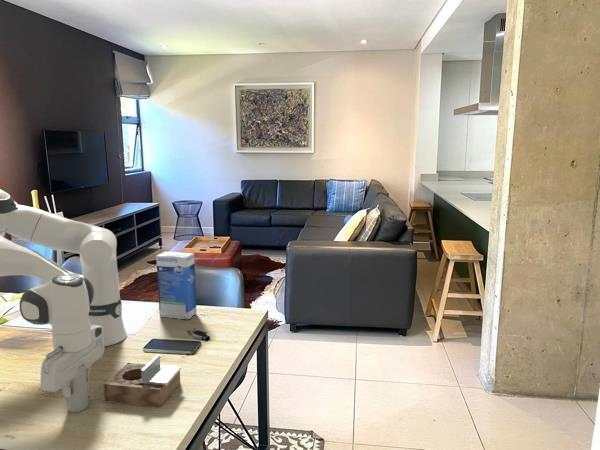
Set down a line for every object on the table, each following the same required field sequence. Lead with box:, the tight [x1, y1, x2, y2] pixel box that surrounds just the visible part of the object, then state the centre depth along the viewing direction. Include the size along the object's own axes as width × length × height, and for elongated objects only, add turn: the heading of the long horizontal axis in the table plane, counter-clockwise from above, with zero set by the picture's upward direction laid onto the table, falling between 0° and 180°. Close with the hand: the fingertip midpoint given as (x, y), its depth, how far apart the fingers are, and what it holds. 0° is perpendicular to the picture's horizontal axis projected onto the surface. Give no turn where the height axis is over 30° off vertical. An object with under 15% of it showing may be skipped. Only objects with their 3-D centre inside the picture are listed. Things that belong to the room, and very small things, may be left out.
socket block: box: [103, 362, 181, 408], centre depth 122 cm, size 16×12×5 cm
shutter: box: [141, 354, 182, 386], centre depth 120 cm, size 7×9×4 cm
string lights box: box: [155, 251, 197, 320], centre depth 176 cm, size 13×8×26 cm, turn 77°
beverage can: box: [66, 363, 89, 413], centre depth 113 cm, size 5×5×12 cm
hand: (76, 389), depth 113 cm, fingers closed on beverage can, 5 cm apart
